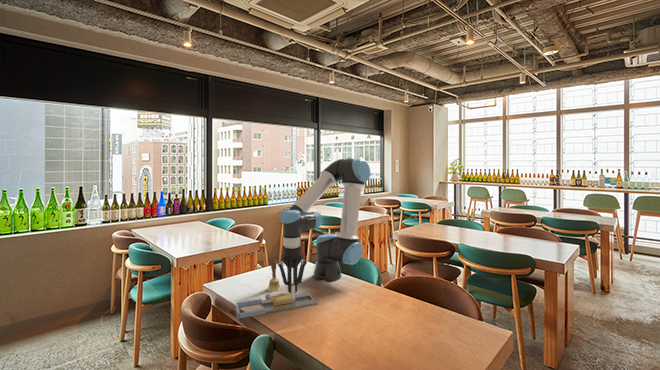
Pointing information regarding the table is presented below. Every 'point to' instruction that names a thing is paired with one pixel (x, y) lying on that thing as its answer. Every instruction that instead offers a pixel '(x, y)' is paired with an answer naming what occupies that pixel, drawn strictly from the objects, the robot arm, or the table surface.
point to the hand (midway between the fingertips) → (292, 299)
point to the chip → (277, 301)
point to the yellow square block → (287, 299)
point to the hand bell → (274, 279)
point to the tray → (250, 313)
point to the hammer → (277, 295)
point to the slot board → (299, 301)
